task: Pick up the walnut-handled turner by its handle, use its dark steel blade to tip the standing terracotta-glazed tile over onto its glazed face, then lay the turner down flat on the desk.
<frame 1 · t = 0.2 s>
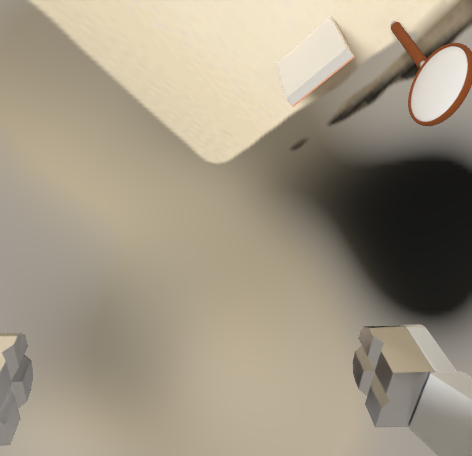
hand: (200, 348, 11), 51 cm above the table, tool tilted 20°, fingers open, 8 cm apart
glazed tile: (305, 44, 58), on the table
magnifying glass: (392, 22, 57), on the table
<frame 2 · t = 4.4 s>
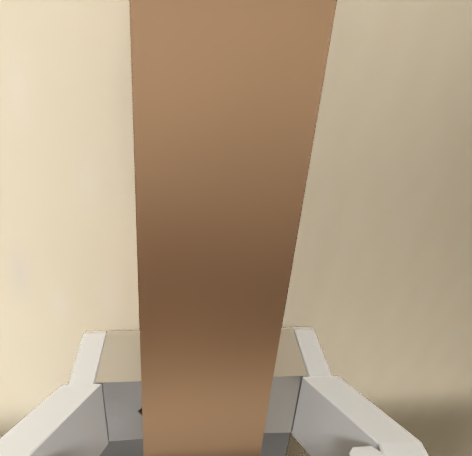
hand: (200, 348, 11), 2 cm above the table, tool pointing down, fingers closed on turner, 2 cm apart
turner: (198, 318, 12), on the table, touching gripper
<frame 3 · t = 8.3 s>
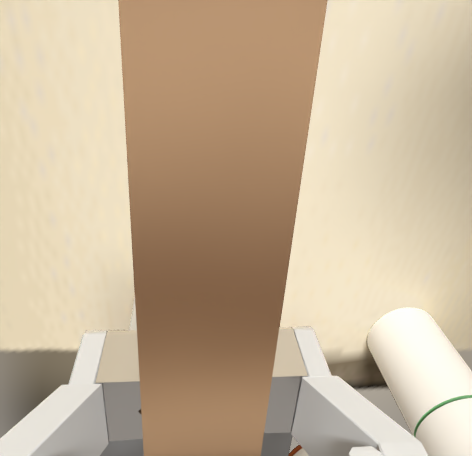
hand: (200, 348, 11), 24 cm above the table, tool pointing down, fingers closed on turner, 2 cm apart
turner: (198, 321, 12), point 23 cm above the table, touching gripper
cylindrical container: (399, 333, 46), on the table
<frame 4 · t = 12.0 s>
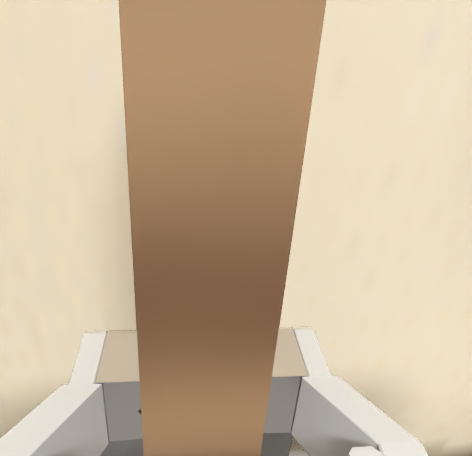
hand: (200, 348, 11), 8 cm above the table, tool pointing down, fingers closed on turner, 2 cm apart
turner: (198, 322, 12), point 7 cm above the table, touching gripper
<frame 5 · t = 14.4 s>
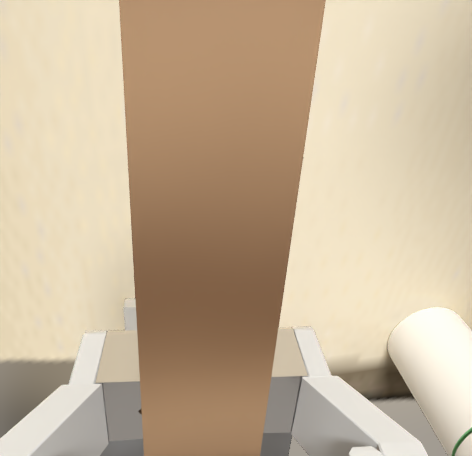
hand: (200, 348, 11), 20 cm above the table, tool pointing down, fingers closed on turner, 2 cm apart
glazed tile: (183, 299, 35), on the table, tilted 90°
turner: (198, 321, 12), point 18 cm above the table, touching gripper
cylindrical container: (424, 336, 40), on the table
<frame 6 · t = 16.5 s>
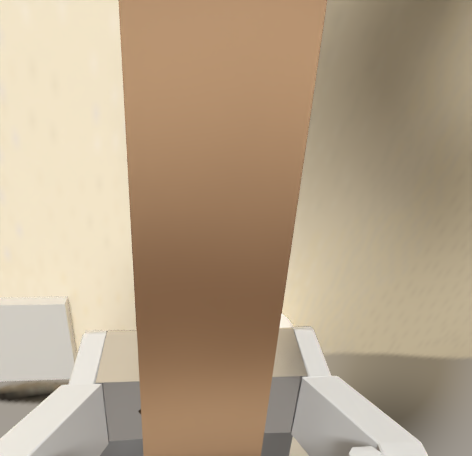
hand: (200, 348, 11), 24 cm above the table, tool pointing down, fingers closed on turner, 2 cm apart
glazed tile: (12, 299, 38), on the table, tilted 90°
turner: (198, 324, 12), point 22 cm above the table, touching gripper
cylindrical container: (258, 336, 43), on the table
when the fingers open (3 cm above the table, at t = 20.5 s): turner drops 1 cm, on the table.
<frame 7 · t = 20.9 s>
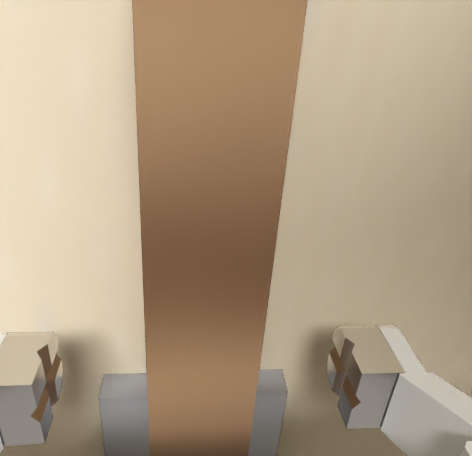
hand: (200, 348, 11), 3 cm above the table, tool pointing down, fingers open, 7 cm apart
turner: (197, 300, 13), on the table
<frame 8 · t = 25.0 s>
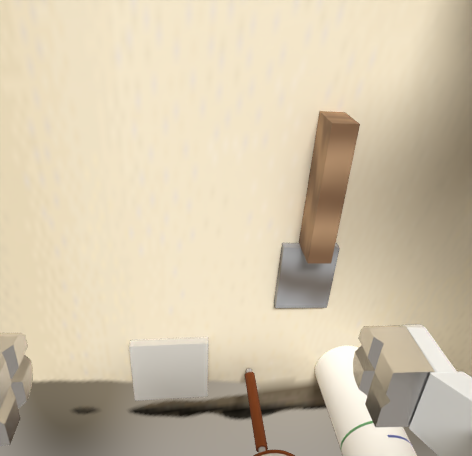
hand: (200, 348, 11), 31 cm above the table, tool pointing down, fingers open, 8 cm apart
glazed tile: (169, 340, 51), on the table, tilted 90°
magnifying glass: (248, 367, 55), on the table
turner: (313, 217, 45), on the table
cylindrical container: (341, 365, 57), on the table
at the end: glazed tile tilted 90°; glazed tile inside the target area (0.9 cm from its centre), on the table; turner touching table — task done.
